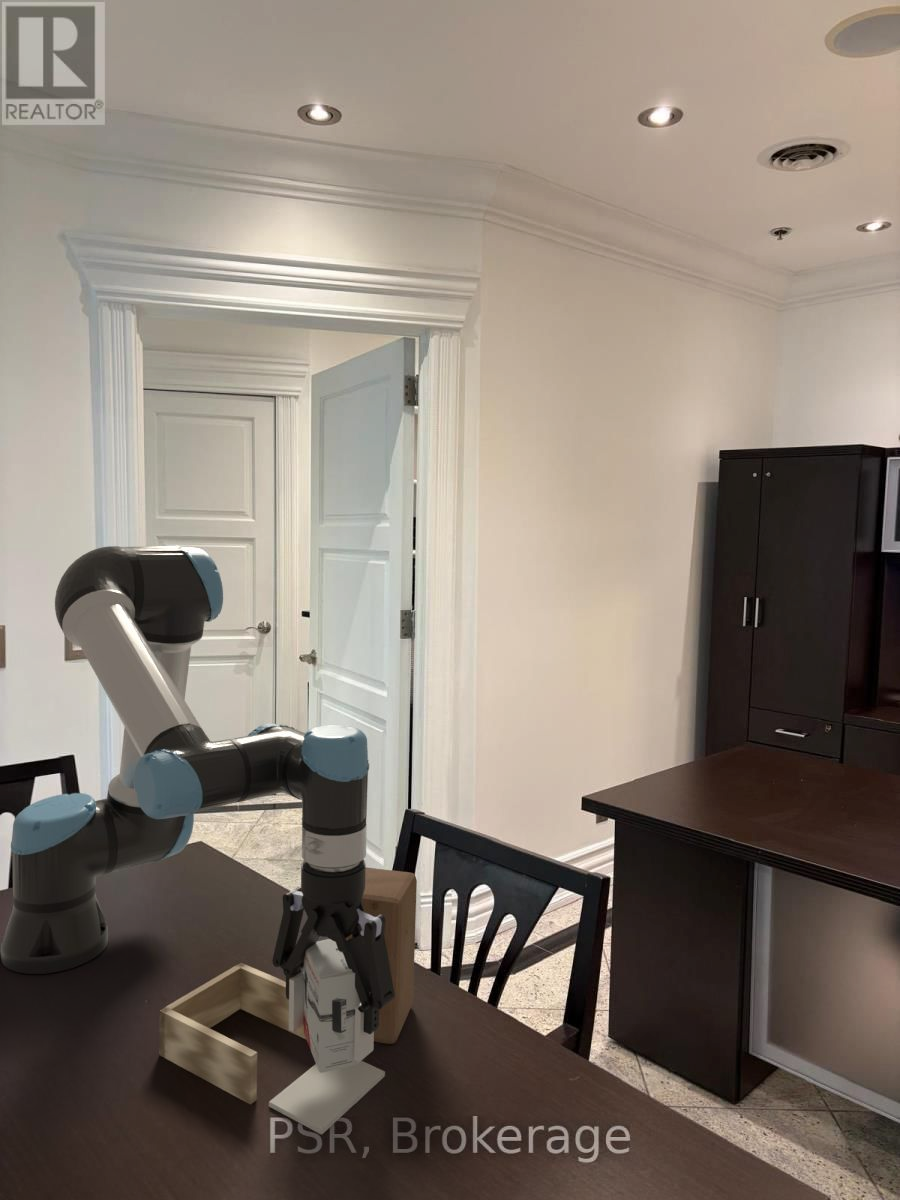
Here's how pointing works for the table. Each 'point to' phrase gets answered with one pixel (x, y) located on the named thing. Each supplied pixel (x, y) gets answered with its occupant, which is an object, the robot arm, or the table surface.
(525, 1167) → the table surface
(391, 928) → the wooden block
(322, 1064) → the ink box
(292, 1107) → the mat
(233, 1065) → the crate
